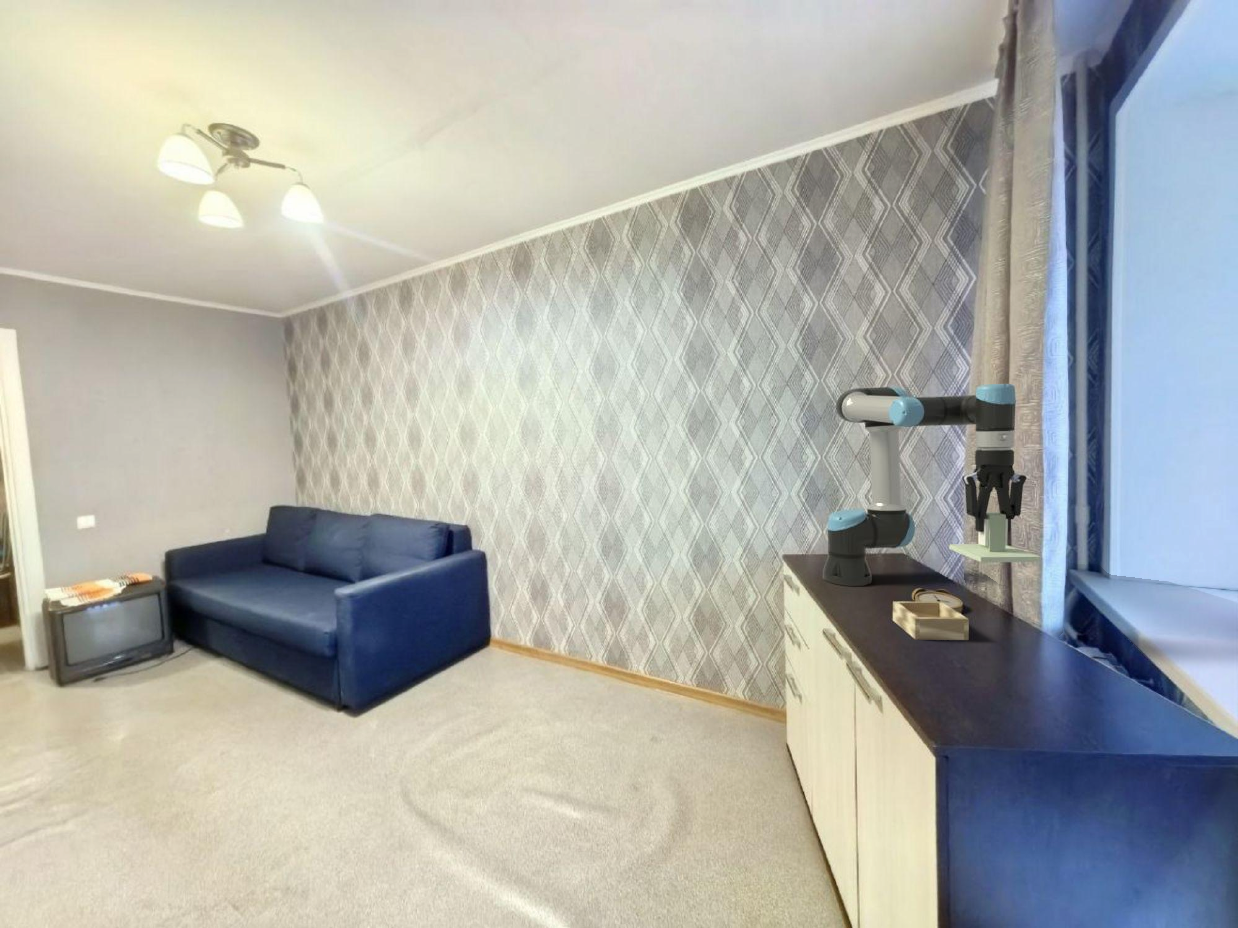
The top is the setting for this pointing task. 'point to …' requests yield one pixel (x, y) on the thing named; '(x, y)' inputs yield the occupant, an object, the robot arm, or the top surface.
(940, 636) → the box
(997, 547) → the lid
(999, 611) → the top surface
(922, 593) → the alarm clock
